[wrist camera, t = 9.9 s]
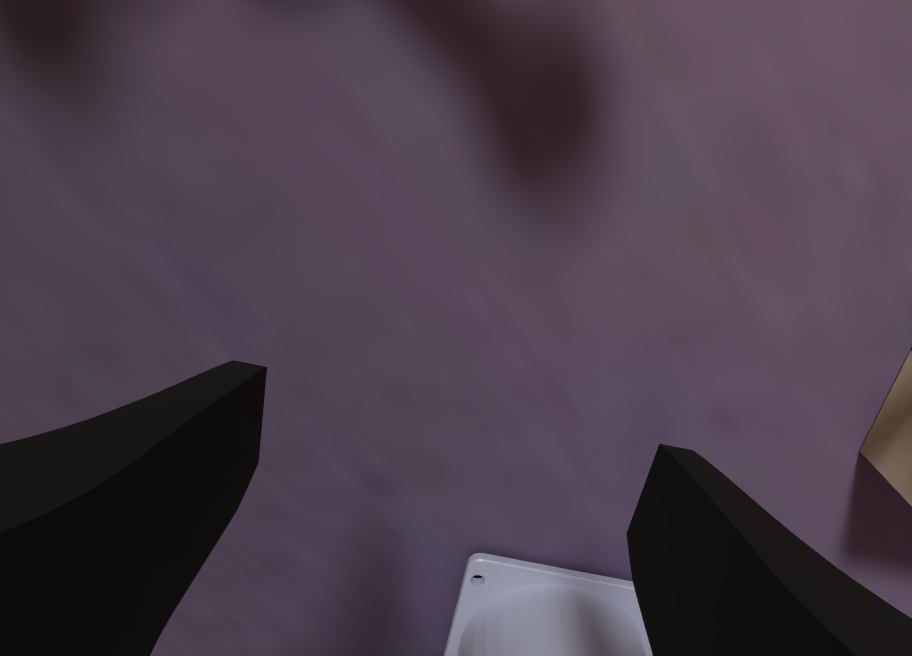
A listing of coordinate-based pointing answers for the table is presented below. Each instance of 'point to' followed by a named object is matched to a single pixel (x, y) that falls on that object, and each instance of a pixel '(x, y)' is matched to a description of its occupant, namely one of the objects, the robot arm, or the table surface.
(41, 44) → the table surface
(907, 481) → the wooden block
